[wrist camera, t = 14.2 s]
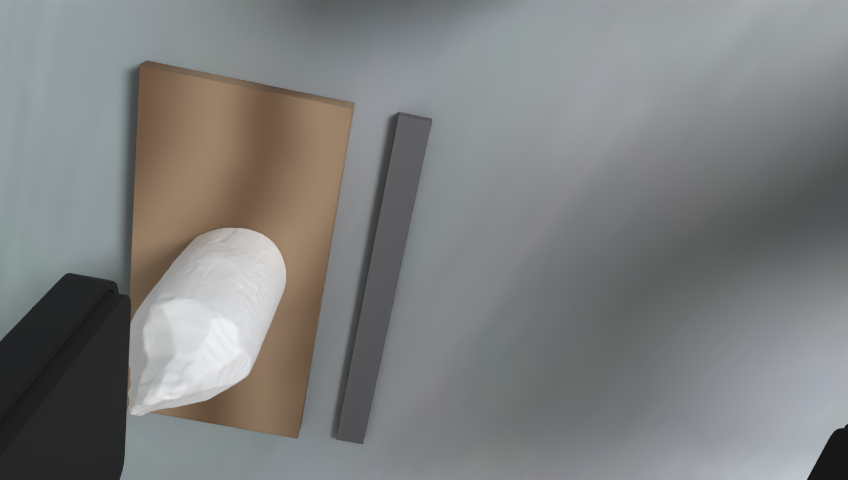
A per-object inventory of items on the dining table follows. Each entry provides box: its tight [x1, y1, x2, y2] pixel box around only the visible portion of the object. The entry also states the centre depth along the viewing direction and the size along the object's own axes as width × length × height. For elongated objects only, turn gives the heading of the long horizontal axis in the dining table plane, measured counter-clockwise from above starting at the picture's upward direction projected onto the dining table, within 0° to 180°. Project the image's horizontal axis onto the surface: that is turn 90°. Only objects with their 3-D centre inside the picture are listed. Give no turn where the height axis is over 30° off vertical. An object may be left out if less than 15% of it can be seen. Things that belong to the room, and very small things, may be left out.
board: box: [127, 61, 355, 438], centre depth 41 cm, size 10×20×1 cm, turn 169°
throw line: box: [336, 112, 432, 444], centre depth 41 cm, size 2×20×1 cm, turn 168°
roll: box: [128, 228, 286, 416], centre depth 35 cm, size 6×12×6 cm
